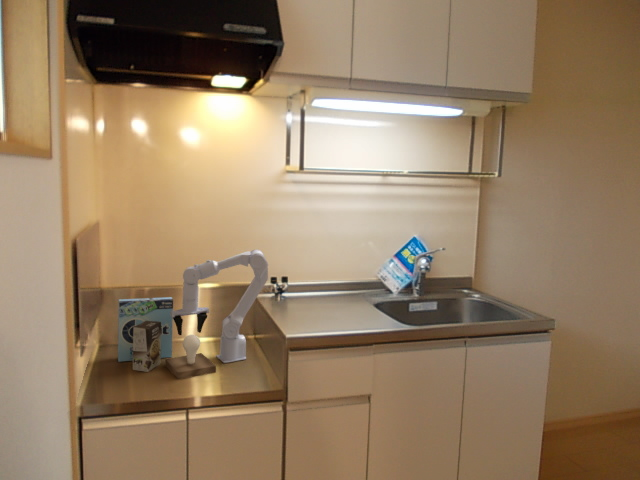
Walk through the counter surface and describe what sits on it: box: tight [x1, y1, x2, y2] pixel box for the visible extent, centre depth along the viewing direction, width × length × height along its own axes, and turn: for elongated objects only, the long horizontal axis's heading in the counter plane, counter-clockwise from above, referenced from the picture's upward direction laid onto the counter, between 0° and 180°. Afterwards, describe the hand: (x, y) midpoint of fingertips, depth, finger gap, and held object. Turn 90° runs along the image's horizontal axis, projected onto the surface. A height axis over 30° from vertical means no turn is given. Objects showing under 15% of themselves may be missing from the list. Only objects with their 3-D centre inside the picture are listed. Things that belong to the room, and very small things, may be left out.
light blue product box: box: [117, 296, 174, 363], centre depth 192 cm, size 20×5×23 cm, turn 113°
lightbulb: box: [182, 334, 201, 364], centre depth 183 cm, size 6×6×11 cm
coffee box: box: [132, 321, 162, 373], centre depth 184 cm, size 9×6×16 cm
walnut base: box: [164, 352, 217, 380], centre depth 185 cm, size 14×14×2 cm
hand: (189, 333), depth 193 cm, fingers open, 7 cm apart
